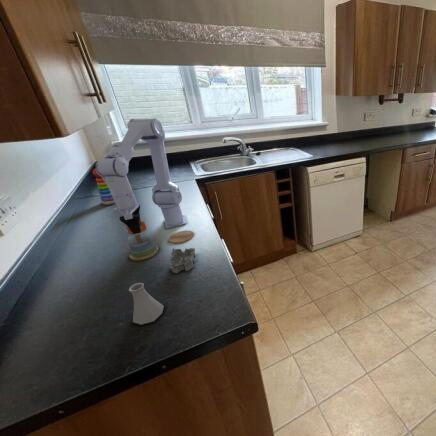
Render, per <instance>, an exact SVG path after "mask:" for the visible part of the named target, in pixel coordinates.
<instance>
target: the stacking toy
mask: <svg viewBox="0 0 436 436" xmlns="http://www.w3.org/2000/svg"><path fill="white" fill-rule="evenodd" d="M92 174H93V176H94V177H96V178H95V181H96V185H97V189H98V193H99V197H100V200H101V204H102V205H105V206H109V205H114V204H116V203H115V201H114V199H113V196H112V194H111V192H110V189H109V187H108V185H107V183H106V182H105V181H104V180H103V178H102V177H101V176H99V175H98V174H97V172H96V167H95V168H94V169H93V170H92Z"/></svg>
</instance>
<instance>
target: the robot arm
mask: <svg viewBox="0 0 436 436" xmlns="http://www.w3.org/2000/svg"><path fill="white" fill-rule="evenodd" d="M126 126H127V131H126V133H125V134H124V136H123V139H122V140H121V141H117V142H114V143H113V144H112V147H111V149H110V150H109V151H108V153H107V154H106V155H105V157H103V158H100V159H98V160H97V161H96V163H95V168H96V172H97V174H98V175H99V176H101V177H102V178H103V180H104V181H105V182H106V183H107V185H108V187H109V189H110V192H111V194H112V196H113V199H114V201H115V203H114V204H115V205H116V206H115V207H114V208H113V211H114V212H119V213H120V214H122V215H121V216H119V221H120V222H121V223H122V224H124V225H125V226H126V227H127V226H128V228H129V229H130V230H131V231H132V233H133V234H132V235H137V233H138V234H141V233H142V232H141V229H140V224H139V221H141V216H140V215H141V213H140V210H141V205H140V204H139V203H138V201H137V198H136V196H135V193H134V190H133V189H132V186H131V184H130V181H129V178H128V176H127V174H128V173H129V165H130V163H129V162H130V161H131V159H132V158H133V156H134V154H135V149H134V148H135V146H137V144H138V142H140V140H141V141H143V142H145V143H146V144H148V145H149V151H150V155H151V161H152V166H153V171H154V176H155V181H156V183H155V184H154V186H153V187H152V188H151V193H152V194H151V199H152V202H153V204H154V205H155V206H157V207H158V208H160V210H161V214H162V216H163V219H164V225H165V229H171V228H174V227H180V226H183V225H186V224H187V221H186V218H185V215H184V214H183V212H182V208H181V206H180V204H181V203H182V200H183V196H182V193H181V191H180V187H179V185H176V183H175V184H174V183H173V182H172V181H171V174H170V169H169V164H168V159H167V158H168V157H167V153H166V148H165V147H166V146H165V141H166V134H165V129H164V125H163V123H162V122H161V121H160V120H159V119H158V118H155V117H154V118H136V119H135V118H131V119H129V121H128V122H127V123H126ZM140 232H141V233H140Z"/></svg>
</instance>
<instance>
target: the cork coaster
mask: <svg viewBox="0 0 436 436" xmlns="http://www.w3.org/2000/svg"><path fill="white" fill-rule="evenodd" d="M194 235H195V234H194V232H193V231H192V230H182V231H178V232H176V233H173V234H171V235H170V237H169V238H168V241H169V242H170V243H171V244H181V243H185V242H187V241H189V240H191V239H192V238H193V237H194Z"/></svg>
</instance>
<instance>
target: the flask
mask: <svg viewBox="0 0 436 436" xmlns="http://www.w3.org/2000/svg"><path fill="white" fill-rule="evenodd" d="M144 286H145V283H143V282H137V283H133V284H132V285H130V286H129V289H128V292H129V293H131V295H132V299H133V313H132V323H134V324H137V325H140V326H142V325H144V324H149V323H152V322H155V321H156V320H157V319H158V318H159V317H160V316H161V315H162V314H163V311H164V307H165V306H164V304H162V303H160V302H159V301H158V300H157V299H155V298H154V297H152V296H151V295H150V294H149V292H148V291H147V290H146V289H145V287H144Z"/></svg>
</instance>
